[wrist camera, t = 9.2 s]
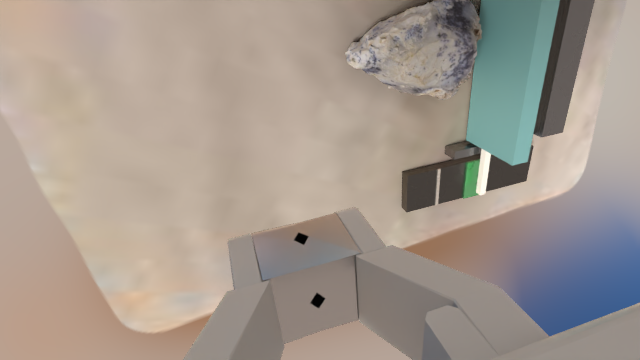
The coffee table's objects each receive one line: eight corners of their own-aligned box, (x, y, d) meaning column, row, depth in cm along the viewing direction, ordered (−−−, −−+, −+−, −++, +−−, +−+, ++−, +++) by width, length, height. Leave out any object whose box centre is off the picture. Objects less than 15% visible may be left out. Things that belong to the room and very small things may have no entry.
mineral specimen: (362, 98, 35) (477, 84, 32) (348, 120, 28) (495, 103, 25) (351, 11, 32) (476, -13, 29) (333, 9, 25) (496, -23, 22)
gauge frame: (407, -108, 25) (432, -119, 22) (586, -118, 28) (625, -128, 26) (401, 207, 37) (417, 223, 34) (526, 174, 40) (549, 187, 38)
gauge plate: (490, -92, 27) (561, -111, 21) (508, -94, 27) (582, -113, 22) (461, 185, 38) (503, 216, 33) (474, 182, 38) (517, 212, 33)
